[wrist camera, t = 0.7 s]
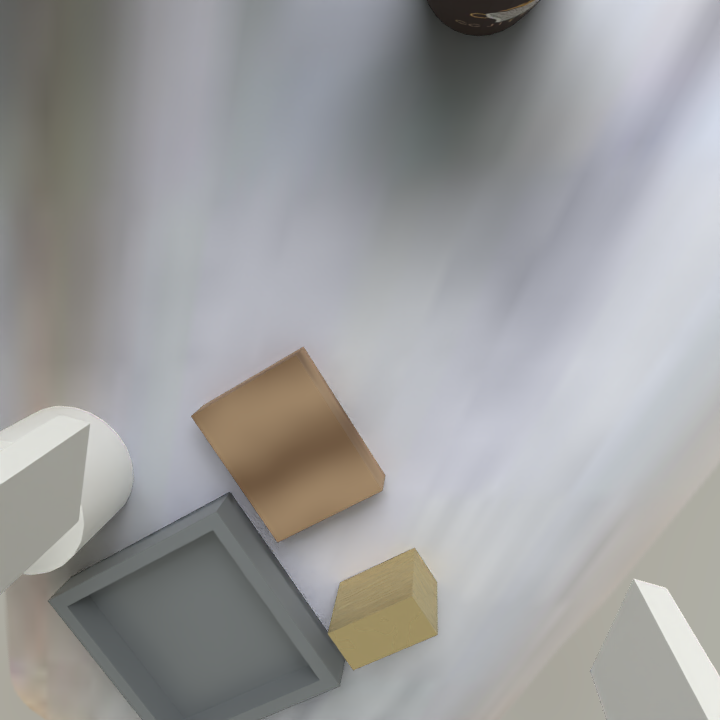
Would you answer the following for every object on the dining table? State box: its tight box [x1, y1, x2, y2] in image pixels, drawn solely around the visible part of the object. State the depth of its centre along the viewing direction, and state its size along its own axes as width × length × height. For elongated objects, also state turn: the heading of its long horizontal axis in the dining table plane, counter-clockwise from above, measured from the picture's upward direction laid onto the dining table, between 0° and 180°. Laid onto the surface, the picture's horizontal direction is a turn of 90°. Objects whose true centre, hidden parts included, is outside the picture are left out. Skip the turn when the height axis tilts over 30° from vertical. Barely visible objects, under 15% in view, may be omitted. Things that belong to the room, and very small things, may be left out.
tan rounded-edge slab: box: [191, 347, 385, 542], centre depth 37 cm, size 10×8×2 cm
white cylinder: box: [0, 406, 134, 575], centre depth 35 cm, size 9×9×12 cm
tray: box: [48, 492, 345, 720], centre depth 41 cm, size 15×15×3 cm
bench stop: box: [328, 548, 438, 670], centre depth 38 cm, size 3×6×5 cm, turn 121°
